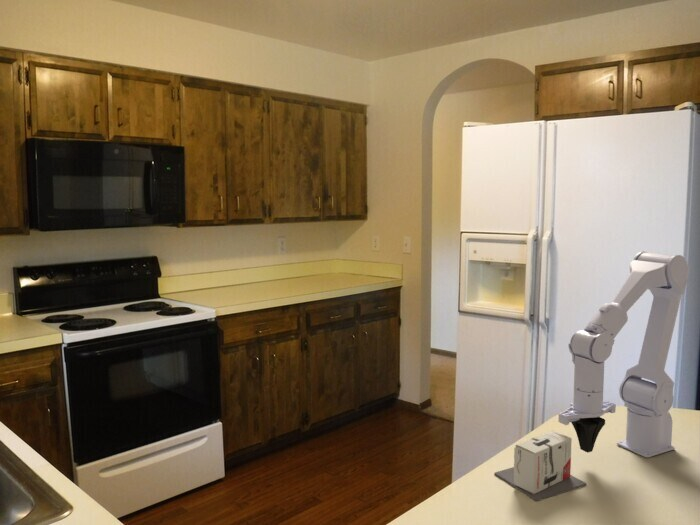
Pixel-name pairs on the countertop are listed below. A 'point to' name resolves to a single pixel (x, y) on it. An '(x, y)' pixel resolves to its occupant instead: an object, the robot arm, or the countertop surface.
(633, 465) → the countertop surface
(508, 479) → the mat
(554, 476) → the ink box
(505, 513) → the countertop surface
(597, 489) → the countertop surface
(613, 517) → the countertop surface
